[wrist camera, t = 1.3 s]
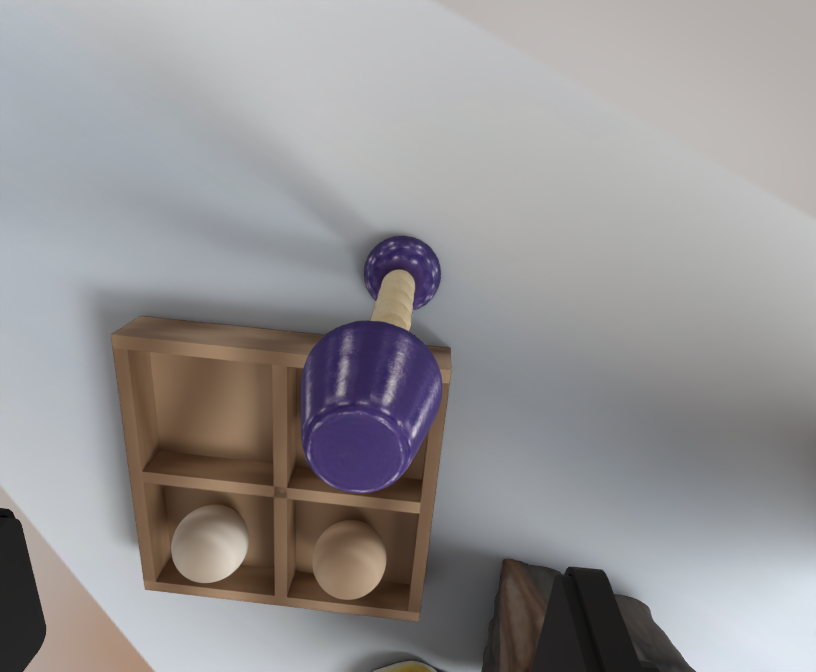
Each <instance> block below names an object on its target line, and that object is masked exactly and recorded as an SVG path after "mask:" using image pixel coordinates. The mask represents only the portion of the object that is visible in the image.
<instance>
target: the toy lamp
mask: <svg viewBox="0 0 816 672" xmlns="http://www.w3.org/2000/svg"><path fill="white" fill-rule="evenodd" d="M364 277H365V283H366V286H367V289H368V291H369V293H370V294H371V296H372V297H373V299H374V300H375V301H376V302H375V305H374V311H373V313H372V316H371V320H370V321H356V322H352V323H349V324H346V325H343V326H340V327H338V328H336V329H334V330H332V331H330V332H329V333H328V334H326V335H325V336H324V337H322V338H321V339H320V340H319V341H318V342H317V344H316V345H315V346H314V347H313V348H312V350H311V352H310V353H309V355H308V357H307V359H306V362H305V365H304V369H303V373H302V379H301V440H302V448H303V451H304V455H305V458H306V461H307V463H308V465H309V466H310V468H311V469H312V470H313V472H314V473H315V474H316V475H317V476H318V477H319V478H320V479H321V480H322V481H324V482H325V483H327V484H328V485H330V486H332V487H334V488H336V489H339V490H342V491H346V492H349V493H370V492H375V491H378V490H380V489H383V488H386V487H388V486H389V485H391V484H393V483H394V482H395V481H396V480H398V479H399V477H400V476H401V475H402V474H403V473H404V472H405V471H406V470H407V468H408V467H409V465H410V464H411V462H412V460H413V458H414V456H415V455H416V453H417V451H418V449H419V447H420V446H421V444H422V442H423V440H424V438H425V436H426V435H427V433H428V431H429V429H430V427H431V425H432V423H433V422H434V420H435V418H436V415H437V413H438V410H439V407H440V404H441V399H442V376H441V372H440V369H439V366H438V363H437V361H436V359H435V358H434V355H433V353H432V352H431V351H430V350H429V348H428V347H427V346H426V345H425V344H424V343H423V342H422V341H421V340H420V339H418V338H417V337H416V336H415V335H413V334H412V333H411V332H409V330H410V327H411V315H412V311H413V310H416V309H419V308H420V307H422V306H424V305H426V304H427V303H428V302H429V301H430V300H431V299H432V298H433V296H434V295H435V293H436V291H437V289H438V287H439V284H440V279H441V270H440V264H439V261H438V258H437V257H436V255H435V253H434V252H433V250H432V249H431V248H430V247H429V246H428V245H427V244H425V243H423V242H422V241H420V240H418V239H415V238H411V237H406V236H397V237H392V238H389V239H386V240H384V241H383V242H381V243H379V244H378V245H377V246H376V247H375V248H374V249H373V250H372V251H371V253H370V254H369V256H368V258H367V261H366V263H365V269H364Z"/></svg>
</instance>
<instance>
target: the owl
mask: <svg viewBox="0 0 816 672" xmlns="http://www.w3.org/2000/svg"><path fill="white" fill-rule="evenodd" d="M557 574H559V575H562V574H561V573H560V572H558V571H556V570H553V569H551V568H547V567H542V566H533V565H528V564H526V563H523V562H521V561H515V560H513V559H506V558H505V559H504V560H503V562H502V572H501V576H500V583H499V590H498V593H497V595H496V597H495V608H494V616H493V619H492V620H491V621H490V623H489V639H488V645H487V646H486V648H485V651H484V657H483V667H482V672H531V670H532V666H533V662H534V658H535V654H536V650H537V646H538V642H539V638H540V634H541V630H542V626H543V622H544V618H545V614H546V610H547V606H548V602H549V598H550V594H551V590H552V586H553V582H554V579H555V576H556V575H557ZM614 596H615V599H616V601H617V604H618V607H619V609H620V612H621V615H622V617H623V620H624V622H625V625H626V628H627V630H628V633H629V636H630V638H631V641H632V644H633V646H634V649H635V652H636V654H637V657H638V659H644V660H649V661H652V662H653V663H654V664H655V665H656V666H657V667H658V668H659V670H660V672H696V671H695V670H694V669H692V668H691V667H690V666H689V665H688V663H687V662H686V661H685V660H684V658H683V657H682V655H681V653H680V652H679V651H678V650H677V649H676V648H675V647H674V645H673V644H672V643H671V641H670V640H669V638H668V637H667V635H666V634H665V633H664V631H663V630H662V629H661V628H660V627H659V626H658V625H657V624H656V623H655V622H654V621H653V619H652V616H651V613H650V612H651V611H650V609H649V607H648V606H647V605H645V604H644V603H642V602H641V601H639V600H637V599H634V598H631V597H627V596H623V595H615V594H614Z"/></svg>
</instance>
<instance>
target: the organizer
mask: <svg viewBox="0 0 816 672" xmlns="http://www.w3.org/2000/svg"><path fill="white" fill-rule="evenodd" d="M324 336H325V335H319V334H309V333H299V332H290V331H280V330H270V329H261V328H251V327H241V326H232V325H222V324H212V323H203V322H193V321H183V320H174V319H164V318H154V317H145V316H140V317H138V318H137V319H135V320H133V321H132V322H130V323H129V324H127V325H125V326H124V327H122V328H120V329H119V330H117V331H116V332H114V333H112V334H111V340H112V347H113V355H114V362H115V370H116V377H117V385H118V392H119V399H120V407H121V414H122V422H123V429H124V437H125V444H126V452H127V459H128V467H129V474H130V482H131V489H132V497H133V504H134V512H135V519H136V527H137V534H138V542H139V549H140V557H141V564H142V572H143V579H144V587H145V590H153V591H161V592H170V593H178V594H187V595H195V596H204V597H212V598H220V599H229V600H237V601H246V602H254V603H263V604H271V605H280V606H288V607H297V608H305V609H314V610H322V611H331V612H339V613H348V614H356V615H365V616H373V617H382V618H390V619H398V620H407V621H415V622H419V618H420V610H421V602H422V594H423V587H424V579H425V571H426V563H427V555H428V548H429V540H430V532H431V524H432V516H433V509H434V501H435V493H436V485H437V477H438V470H439V462H440V454H441V446H442V438H443V431H444V423H445V415H446V407H447V399H448V392H449V384H450V376H451V348H444V347H435V346H427V347H428V348H429V350H430V351H431V352H432V353H433V355H434V358H435V359H436V361H437V363H438V366H439V369H440V372H441V376H442V399H441V404H440V407H439V410H438V413H437V415H436V418H435V420H434V422H433V423H432V425H431V427H430V429H429V431H428V433H427V435H426V436H425V438H424V440H423V442H422V444H421V446H420V447H419V449H418V451H417V453H416V455H415V456H414V458H413V460H412V462H411V464H410V465H409V467H408V468H407V470H406V471H405V472H404V473H403V474H402V475H401V476H400V477H399V479H398V480H396V481H395V482H394V483H393V484H391V485H389V486H388V487H386V488H383V489H380V490H378V491H375V492H370V493H349V492H346V491H342V490H339V489H336V488H334V487H332V486H330V485H328V484H327V483H325V482H324V481H322V480H321V479H320V478H319V477H318V476H317V475H316V474H315V473H314V472H313V470H312V469H311V468H310V466H309V465H308V463H307V461H306V458H305V455H304V451H303V448H302V440H301V379H302V373H303V369H304V365H305V362H306V359H307V357H308V355H309V353H310V352H311V350H312V348H313V347H314V346H315V345H316V344H317V342H318V341H319V340H320V339H321V338H322V337H324ZM214 504H216V505H224V506H227V507H230V508H232V509H234V510H235V511H236V512H238V513H239V514H240V515H241V516H242V518H243V519H244V521H245V523H246V525H247V527H248V531H249V546H248V551H247V553H246V556H245V558H244V560H243V561H242V563H241V564H240V566H239V567H238V568H237V569H236V570H235V571H234V572H233V573H232V574H230V575H229V576H227V577H226V578H224V579H222V580H219V581H216V582H212V583H199V582H195V581H192V580H190V579H188V578H186V577H185V576H183V575H182V574H181V573H180V572H179V571H178V569H177V568H176V566H175V564H174V562H173V558H172V553H171V544H172V539H173V536H174V533H175V531H176V529H177V527H178V525H179V524H180V523H181V521H182V520H183V519H184V518H185V517H186V516H187V515H188V514H189V513H191V512H192V511H194V510H196V509H198V508H200V507H203V506H207V505H214ZM344 520H358V521H361V522H364V523H366V524H368V525H370V526H371V527H372V528H374V529H375V530H376V531H377V533H378V534H379V535H380V537H381V538H382V540H383V543H384V546H385V549H386V567H385V571H384V574H383V576H382V578H381V580H380V582H379V583H378V584H377V586H376V587H375V588H374V589H373V590H372V591H371V592H369V593H368V594H366V595H365V596H363V597H360V598H357V599H352V600H344V599H339V598H336V597H333V596H331V595H330V594H328V593H327V592H326V591H325V590H324V589H323V588H322V587H321V586H320V585H319V583H318V581H317V580H316V577H315V575H314V571H313V565H312V558H313V552H314V548H315V545H316V543H317V541H318V539H319V538H320V536H321V535H322V534H323V533H324V531H325V530H326V529H328V528H329V527H330V526H332V525H333V524H335V523H338V522H340V521H344Z"/></svg>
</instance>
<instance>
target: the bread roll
mask: <svg viewBox="0 0 816 672" xmlns="http://www.w3.org/2000/svg"><path fill="white" fill-rule="evenodd" d="M373 672H437V671H436V670H435V669H434V668H432V667H431V666H429V665H427V664H424V663H422V662H418V661H412V660H410V661H404V662H399V663H395V664H392V665H389V666H386V667H383V668H380V669H377V670H374V671H373Z"/></svg>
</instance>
